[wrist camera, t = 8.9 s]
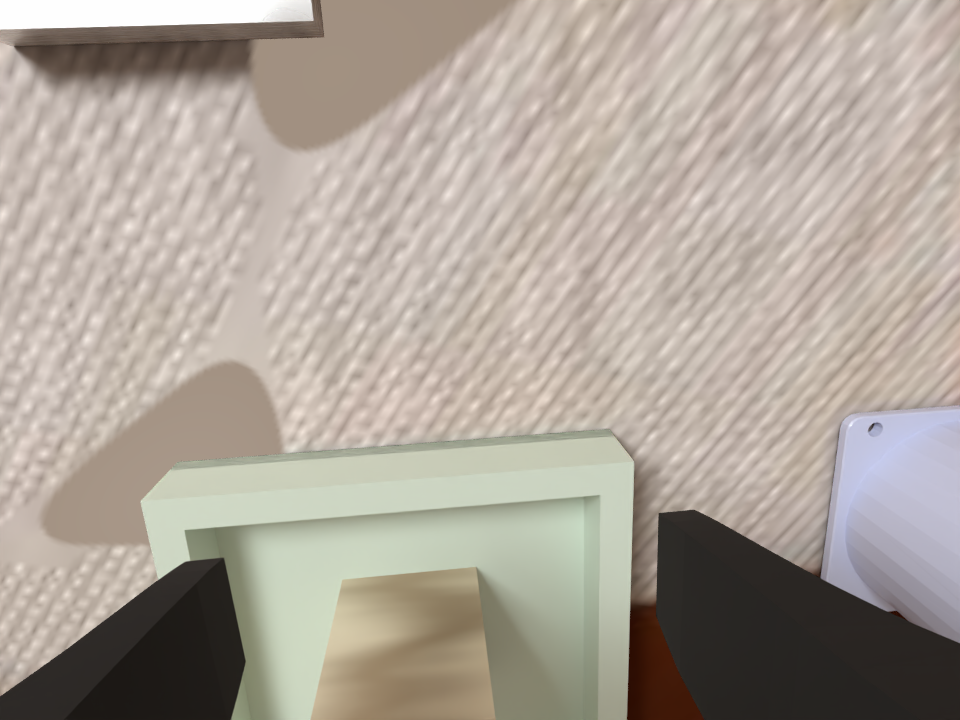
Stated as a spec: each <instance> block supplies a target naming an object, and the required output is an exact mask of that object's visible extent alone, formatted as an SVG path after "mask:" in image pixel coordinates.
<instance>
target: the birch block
mask: <svg viewBox="0 0 960 720" xmlns="http://www.w3.org/2000/svg"><path fill="white" fill-rule="evenodd" d="M310 720H496V719H495V711H494V703H493V695H492V687H491V679H490V671H489V663H488V656H487V648H486V640H485V632H484V624H483V616H482V608H481V600H480V593H479V585H478V577H477V569H476V567H469V568H459V569H448V570H438V571H427V572H417V573H406V574H396V575H385V576H375V577H364V578H354V579H344V580H342V583H341V588H340V592H339V596H338V601H337V605H336V610H335V614H334V618H333V623H332V627H331V632H330V636H329V640H328V645H327V649H326V654H325V658H324V662H323V667H322V671H321V676H320V680H319V684H318V689H317V693H316V698H315V702H314V706H313V711H312V715H311V719H310Z"/></svg>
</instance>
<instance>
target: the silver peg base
mask: <svg viewBox="0 0 960 720" xmlns="http://www.w3.org/2000/svg"><path fill="white" fill-rule="evenodd" d="M312 37H324V33H323V22H322V13H321V4H320V0H0V42H2V43H5V44H7V45H10V46H33V45H68V44H103V43H138V42H173V41H208V40H243V39H277V38H312Z"/></svg>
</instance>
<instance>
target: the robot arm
mask: <svg viewBox="0 0 960 720" xmlns="http://www.w3.org/2000/svg"><path fill="white" fill-rule="evenodd" d="M873 423H874V427H873V429H872V430H871V431H869V432H868V429H869V427H870V426H871V425H872V424H873ZM888 611H898V612H899V613H900V614H901V615H902V616H903V617H905V618H906V619H907V620H908V621H907V620H905V619H902V618H900V617H898V616H896V615H894V614H891V613H889V612H888ZM656 616H657V619H658V621H659V624H660V627H661V629H662V632H663V634H664V637H665V639H666V642H667V645H668V647H669V650H670V652H671V654H672V657H673V659H674V661H675V664H676V666H677V669H678V671H679V673H680V675H681V677H682V679H683V681H684V683H685V685H686V686H687V688H688V690H689V692H690V694H691V696H692V698H693V699H694V701H695V703H696V705H697V707H698V709H699V710H700V712H701V714H702V716H703V718H704V720H960V405H957V406H944V407H931V408H918V409H905V410H892V411H879V412H866V413H855V414H851V415H849V416H848V417H846V418H845V419H844V421H843V422H842V424H841V427H840V434H839V441H838V449H837V456H836V464H835V472H834V479H833V487H832V494H831V502H830V510H829V517H828V525H827V532H826V540H825V547H824V555H823V563H822V570H821V578H819V577H817V576H815V575H813V574H811V573H810V572H808V571H806V570H804V569H802V568H800V567H798V566H797V565H795V564H793V563H791V562H789V561H787V560H786V559H784V558H782V557H780V556H778V555H777V554H775V553H773V552H771V551H769V550H768V549H766V548H764V547H762V546H760V545H759V544H757V543H755V542H753V541H752V540H750V539H748V538H746V537H744V536H743V535H741V534H739V533H737V532H736V531H734V530H732V529H730V528H728V527H727V526H725V525H723V524H721V523H719V522H717V521H716V520H714V519H712V518H710V517H708V516H706V515H704V514H702V513H700V512H698V511H695V510H686V511H677V512H667V513H659V521H658V560H657V600H656ZM245 663H246V660H245V655H244V650H243V645H242V641H241V636H240V631H239V626H238V622H237V617H236V612H235V607H234V603H233V598H232V593H231V588H230V583H229V579H228V574H227V569H226V564H225V560H224V558H214V559H204V560H194V561H185V562H184V563H182V564H181V565H179V566H178V567H176V568H174V569H173V570H172V571H170V572H169V573H167V574H166V575H165V576H163V577H162V578H160V579H159V580H158V581H156V582H155V583H154V584H152V585H151V586H150V587H148V588H147V589H146V590H144V591H143V592H142V593H140V594H139V595H138V596H136V597H135V598H134V599H132V600H131V601H130V602H129V603H127V604H126V605H125V606H123V607H122V608H121V609H119V610H118V611H117V612H115V613H114V614H113V615H111V616H110V617H109V618H107V619H106V620H105V621H103V622H102V623H101V624H100V625H98V626H97V627H96V628H94V629H93V630H92V631H90V632H89V633H88V634H86V635H85V636H84V637H82V638H81V639H80V640H78V641H77V642H76V643H74V644H73V645H72V646H70V647H69V648H68V649H66V650H65V651H64V652H62V653H61V654H60V655H58V656H57V657H55V658H54V659H52V660H51V661H50V662H48V663H47V664H45V665H44V666H43V667H41V668H40V669H38V670H37V671H36V672H34V673H33V674H31V675H30V676H29V677H27V678H26V679H24V680H23V681H22V682H20V683H19V684H17V685H16V686H14V687H13V688H12V689H10V690H9V691H7V692H6V693H5V694H3V695H2V696H0V720H231V718H232V714H233V711H234V707H235V703H236V700H237V696H238V692H239V688H240V684H241V680H242V676H243V672H244V667H245Z"/></svg>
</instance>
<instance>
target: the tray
mask: <svg viewBox="0 0 960 720" xmlns="http://www.w3.org/2000/svg"><path fill="white" fill-rule="evenodd" d="M633 490H634V461H633V459H632V458H631V457H630V455H629V454H628V453H627V452H626V450H625V449H624V448H623V446H622V445H621V444H620V443H619V441H618V440H617V439H616V437H615V436H614V435H613V434H612V432H611V431H610V430H609V429H604V430H591V431H578V432H565V433H552V434H538V435H525V436H512V437H499V438H486V439H473V440H460V441H447V442H434V443H420V444H407V445H394V446H381V447H368V448H355V449H342V450H329V451H316V452H303V453H289V454H276V455H263V456H252V457H251V456H250V457H237V458H225V459H211V460H198V461H185V462H177V463H176V464H175V466H173V468H172V469H171V470H170V471H169V472H168V473H167V474H166V475H165V476H164V477H163V478H162V479H161V480H160V481H159V482H158V483H157V484H156V485H155V487H154V488H153V489H152V490H151V491H150V492H149V493H148V494H147V495H146V496H145V497H144V498H143V499H142V500H141V501H140V502H141V507H142V511H143V515H144V520H145V524H146V528H147V533H148V537H149V542H150V546H151V550H152V555H153V559H154V563H155V568H156V572H157V577H158V580H159V579H160V578H162V577H163V576H165V575H166V574H167V573H169V572H170V571H172V570H173V569H174V568H176V567H178V566H179V565H181V564H182V563H184V562H185V561H194V560H204V559H214V558H224V560H225V564H226V569H227V574H228V579H229V583H230V588H231V593H232V598H233V603H234V607H235V612H236V617H237V622H238V626H239V631H240V636H241V641H242V645H243V650H244V655H245V660H246V663H245V667H244V672H243V676H242V680H241V684H240V688H239V692H238V696H237V700H236V703H235V707H234V711H233V714H232V718H231V720H310V719H311V715H312V711H313V706H314V702H315V698H316V693H317V689H318V684H319V680H320V676H321V671H322V667H323V662H324V658H325V654H326V649H327V645H328V640H329V636H330V632H331V627H332V623H333V618H334V614H335V610H336V605H337V601H338V596H339V592H340V588H341V583H342V580H344V579H354V578H364V577H375V576H385V575H396V574H406V573H417V572H427V571H438V570H448V569H459V568H469V567H476V569H477V577H478V585H479V593H480V600H481V608H482V616H483V624H484V632H485V640H486V648H487V656H488V663H489V671H490V679H491V687H492V695H493V703H494V711H495V719H496V720H627V698H628V663H629V629H630V594H631V559H632V524H633Z"/></svg>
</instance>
